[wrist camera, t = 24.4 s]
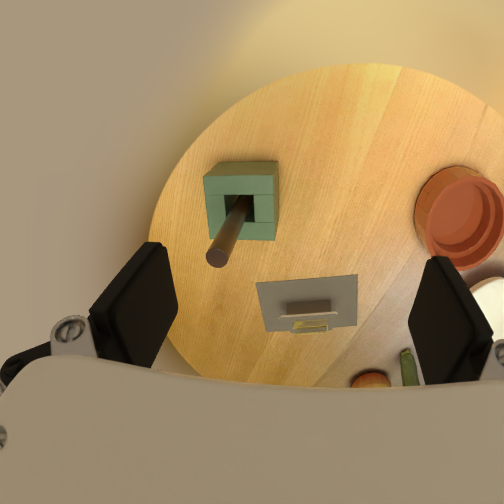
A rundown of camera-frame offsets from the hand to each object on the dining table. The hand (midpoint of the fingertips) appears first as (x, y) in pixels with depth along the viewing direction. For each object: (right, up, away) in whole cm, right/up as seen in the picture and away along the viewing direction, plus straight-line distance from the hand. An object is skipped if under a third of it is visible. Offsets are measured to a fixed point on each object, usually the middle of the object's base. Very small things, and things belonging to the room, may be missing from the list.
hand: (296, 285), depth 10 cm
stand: (-2, +11, +36) cm, 38 cm away
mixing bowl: (+32, +8, +32) cm, 46 cm away
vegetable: (+31, -21, +48) cm, 61 cm away
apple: (+26, -29, +54) cm, 66 cm away
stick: (-2, +10, +36) cm, 38 cm away
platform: (+9, -9, +45) cm, 47 cm away
